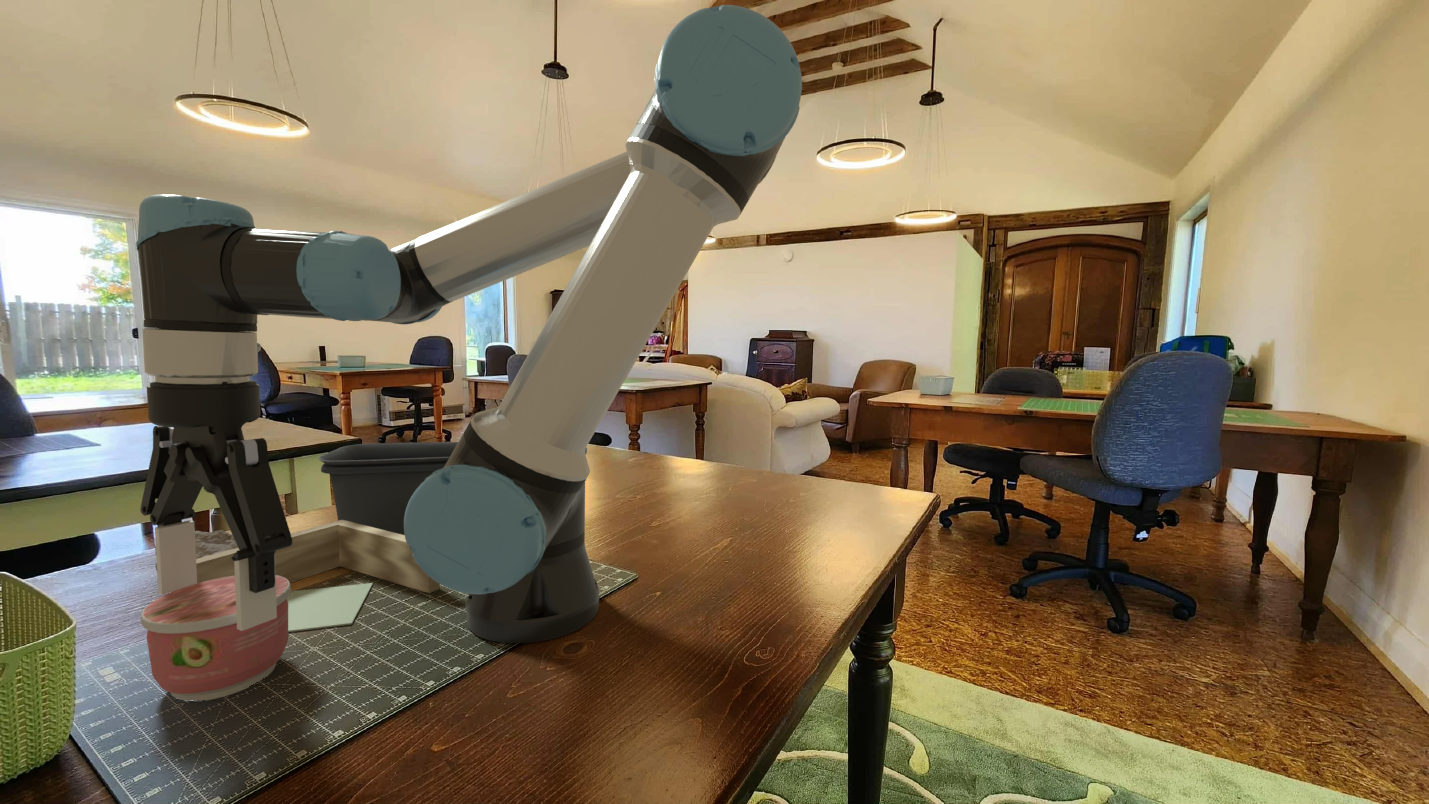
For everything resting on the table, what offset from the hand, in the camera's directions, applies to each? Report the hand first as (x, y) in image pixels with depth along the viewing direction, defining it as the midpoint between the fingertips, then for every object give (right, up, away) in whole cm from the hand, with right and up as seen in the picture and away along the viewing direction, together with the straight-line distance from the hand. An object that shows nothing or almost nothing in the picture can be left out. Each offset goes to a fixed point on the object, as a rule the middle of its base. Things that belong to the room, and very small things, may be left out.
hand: (215, 605), depth 53 cm
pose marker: (-1, -6, +14) cm, 15 cm away
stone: (-22, -4, +22) cm, 31 cm away
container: (0, -7, +1) cm, 7 cm away
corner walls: (-1, -5, +16) cm, 17 cm away
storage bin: (-4, -3, +40) cm, 41 cm away
